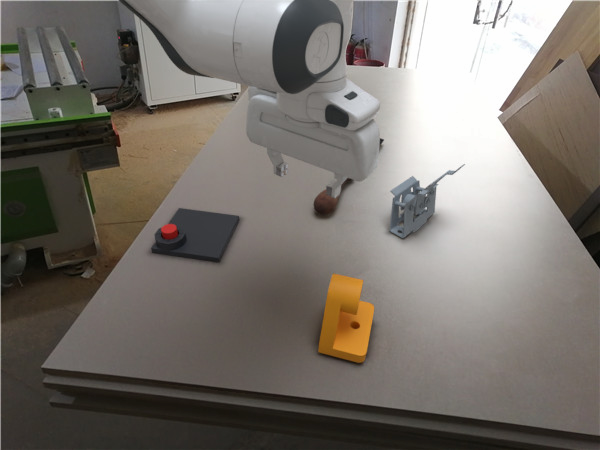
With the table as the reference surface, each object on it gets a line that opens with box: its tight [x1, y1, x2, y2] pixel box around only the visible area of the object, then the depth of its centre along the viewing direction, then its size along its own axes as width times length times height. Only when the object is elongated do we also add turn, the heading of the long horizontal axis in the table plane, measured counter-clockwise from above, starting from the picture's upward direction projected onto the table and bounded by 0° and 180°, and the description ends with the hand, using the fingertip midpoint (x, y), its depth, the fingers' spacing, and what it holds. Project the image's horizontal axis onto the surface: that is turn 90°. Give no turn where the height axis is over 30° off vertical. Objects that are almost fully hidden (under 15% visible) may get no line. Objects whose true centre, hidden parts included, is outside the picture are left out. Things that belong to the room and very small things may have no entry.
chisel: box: [313, 137, 385, 216], centre depth 105 cm, size 5×43×5 cm, turn 154°
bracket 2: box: [388, 163, 466, 239], centre depth 86 cm, size 13×10×15 cm
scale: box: [150, 207, 240, 263], centre depth 85 cm, size 14×14×3 cm
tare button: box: [160, 223, 178, 240], centre depth 81 cm, size 3×3×2 cm
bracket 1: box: [317, 272, 375, 364], centre depth 63 cm, size 11×7×12 cm, turn 164°
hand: (306, 184), depth 61 cm, fingers open, 8 cm apart
